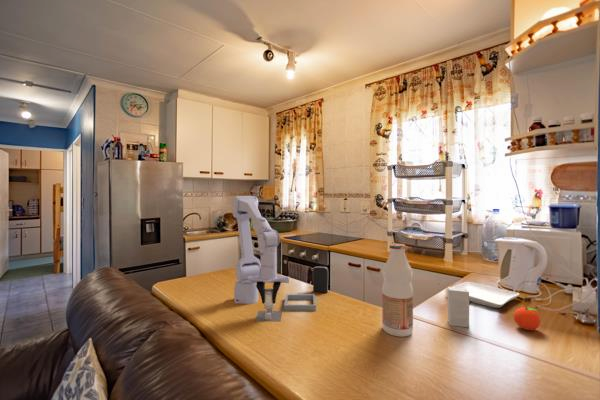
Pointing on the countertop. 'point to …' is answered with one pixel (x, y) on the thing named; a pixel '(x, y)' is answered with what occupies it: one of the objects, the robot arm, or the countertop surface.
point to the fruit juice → (397, 293)
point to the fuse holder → (269, 315)
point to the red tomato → (527, 318)
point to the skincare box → (458, 306)
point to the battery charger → (320, 279)
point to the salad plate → (487, 294)
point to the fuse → (268, 298)
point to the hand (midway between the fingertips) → (268, 302)
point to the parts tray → (300, 307)
